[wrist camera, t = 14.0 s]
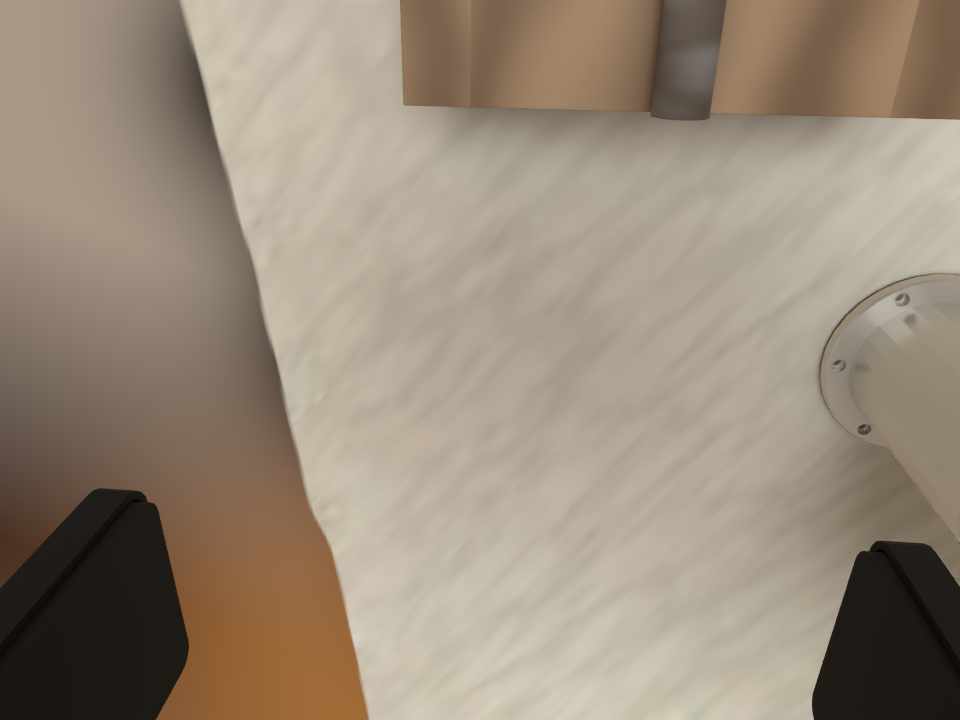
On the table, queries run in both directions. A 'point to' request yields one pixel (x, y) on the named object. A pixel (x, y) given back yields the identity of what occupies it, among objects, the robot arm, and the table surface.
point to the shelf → (628, 49)
